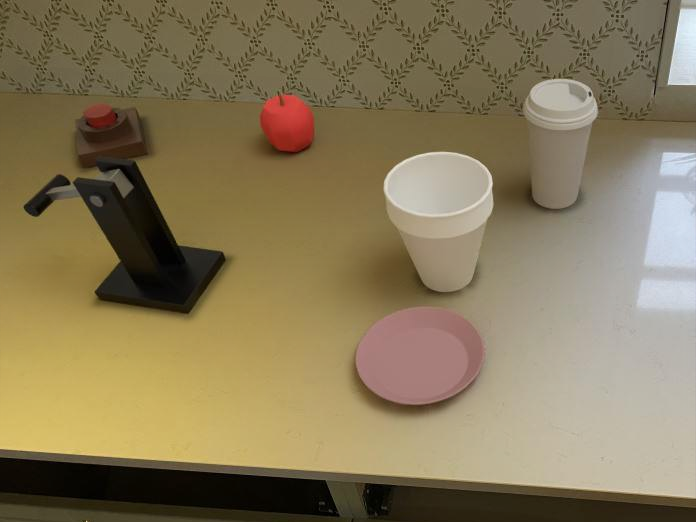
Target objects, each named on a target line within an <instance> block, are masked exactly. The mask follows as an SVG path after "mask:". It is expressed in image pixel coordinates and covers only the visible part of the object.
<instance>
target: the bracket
mask: <svg viewBox="0 0 696 522" xmlns="http://www.w3.org/2000/svg"><path fill="white" fill-rule="evenodd" d="M95 163H96V165H97V166H96V167H97V168H98V171H99V173H100V172H104V171H110V170H116V169H120V170H121V171H122V173H123V174H124V175H125V176H126V178H127V179H128V180H129V181H130V183H131V184H132V185H133V186H134V188H133V189H132V190H131V191H130V192H129V193H128V194H127V195H126V197H125V198H123V196H122V194H121V193H120V191H119V189H118V187H117V185H116V184H115V182H112V181H104V180H96V179H94V178H89V177H88V178H87V177H80V176H78V177H76V178H75V179H74V180H73V181H72V185H74V186H75V187H76V189H77V191H78V192H79V194H80V196H81V197H80V198H81V199H82V201H83V202H84V204H85V206H86V207H87V209H88V211H89V212H90V214H91V215H92V217H93V218H94V221H95V222H96V223H97V225H98V227H99V228H100V230H101V231H102V233H103V235H104V237H105V238H106V240H107V241H108V243H109V244H110V247H111V248H112V250H113V251H114V253H115V254H116V256H117V257H118V259H119V262H118V263H117V265H116V266H114V268H113V269H112V270H111V271H110V273H109V274H108V275H107V276H106V277H105V278H104V279H103V281H102V282H101V283H100V284H99V286H98V287H97V288H96V289H95V290H94V294H95V295H96V297H97V298H98V299H99V301H105V302H111V303H112V302H113V303H117V304H124V305H131V306H138V307H143V308H149V309H150V308H151V309H157V310H161V311H170V312H174V313H175V312H176V313H184V314H189V313H190V312H191V311H192V309H193V308H194V306H195V305H196V304H197V302H198V301H199V299H200V298H201V297H202V295H203V294H204V293H205V291H206V289H207V288H208V286H209V285H210V284H211V282H212V280H213V279H214V278H215V277H216V275H217V274H218V272H219V270H220V269H221V268H222V267H223V265H224V264H225V262H226V260H227V258H226V256H225V253H224V252H223V250H215V249H207V248H199V247H193V246H186V245H180V244H178V242H177V241H176V240H177V239H176V238H175V236H174V235H173V232H172V230H171V229H170V227H169V225H168V223H167V220H166V219H165V216H164V214H163V213H162V211H161V209H160V206H159V205H158V203H157V200H156V198H155V197H154V195H153V193H152V191H151V189H150V187H149V185H148V183H147V181H146V180H145V177H144V176H143V174H142V171H141V169H140V167H139V166H138V163H137V162H136V160H132V159H117V158H109V157H101V156H99V157H98V158H97V159H96V160H95Z"/></svg>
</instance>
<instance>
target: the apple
mask: <svg viewBox="0 0 696 522" xmlns="http://www.w3.org/2000/svg"><path fill="white" fill-rule="evenodd" d="M259 122H260V128H261V130H262V131H263V133H264V135H265V137H266V139H267V140H268V142H269V144H270V145H272V146H273V147H274V148H275V149H276V150H278V151H279V152H280V151H281V152H287V153H298V152H300V151H302V150H305V149H306V148H307V147H308V146H310V145H312V143H313V142H312V141H313V139H314V137H315V116H314V115H313V112H312V110H311V108H310V106H308V105H307V104H306V103H305V102H304V101H302V100H301V99H300V98H299V97H298V96H296V95H294V94H278V95H275V96H273V97H271V98H267V99H266V102H265V103H264V105H263V107H262V109H261V112H260V115H259Z"/></svg>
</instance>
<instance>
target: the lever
mask: <svg viewBox="0 0 696 522" xmlns="http://www.w3.org/2000/svg"><path fill="white" fill-rule="evenodd" d="M93 179H96V180H104V181H112V182H115V184H116V185H117V187H118V189H119V191H120V193H121V194H122V196H123V198H125V197H126V195H127V194H128V193H129V192H130V191H131V190H132V189H133V188H134V186H133V185H132V184H131V183H130V181H129V180H128V179H127V178H126V176H125V175H124V174H123V173H122V171H121V170H120V169H116V170H110V171H104V172H100V171H99V173H98V174H97V175H96V176H95V177H94V178H93ZM75 198H82V197H81V196H80V194H79V192H78V191H77V189H76V187H75V186H74V184H71V181H70V179H68V177H67V176H66V175H64V174H60V173H57V174H56V175H55V176H54V177H52V178H51V179H50V180H49V181H48V182H47V183H46V184H45V185H44V186H42V188H41V189H40V190H38V192H36V193H35V194H34V195H33V196H32V197H31V198H30V199H29V200H28V201H27V202H26V203H24V204H23V210H24V211H25V212H26V213H27V215H30V216H31V217H34V218H38V217H40V216H41V215H42V214H43V213H44V212H45V211H46V209H48V208H49V207H50V206H51V205H52V204H53V203H54V202H55V201H60V200H68V199H75Z"/></svg>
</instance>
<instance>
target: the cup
mask: <svg viewBox="0 0 696 522" xmlns="http://www.w3.org/2000/svg"><path fill="white" fill-rule="evenodd" d="M493 185H494V182H493V176H492V174H491V172H490V171H489V169H488V168H487V166H485V165H484V164H483V163H481V162H480V160H477V159H476V158H473V157H471V156H469V155H466V154H462V153H458V152H451V151H450V152H449V151H431V152H430V151H429V152H425V153H421V154H416V155H414V156H411V157H408V158H406V159H404V160H402V161H400V162H399V163H397V164H395V166H393V168H392V169H390V171H389V172H388V173H387V174H386V177H385V178H384V180H383V194H384V196H385V198H384V199H385V207H386V213H387V216H388V218H389V220H390V221H391V223H392V224H393V225H394V226H395V227H396V229H397V231H398V233H399V235H400V238H401V239H402V241H403V244H404V246H405V248H406V250H407V252H408V254H409V257H410V259H411V261H412V263H413V266H414V267H415V269H416V272H417V273H418V276H419V278H420V280H421V282H422V283H423V285H424V286H425V287H426V288H428V289H429V290H432V291H434V292H439V293H453V292H456V291H459V290H462V289H464V288H466V287H467V286H468V285H470V283H471V281H472V280H473V277H474V273H475V270H476V266H477V262H478V257H479V254H480V250H481V246H482V242H483V238H484V233H485V230H486V226H487V222H488V218H490V216H491V215H492V212H493V208H494V194H493Z"/></svg>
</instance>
